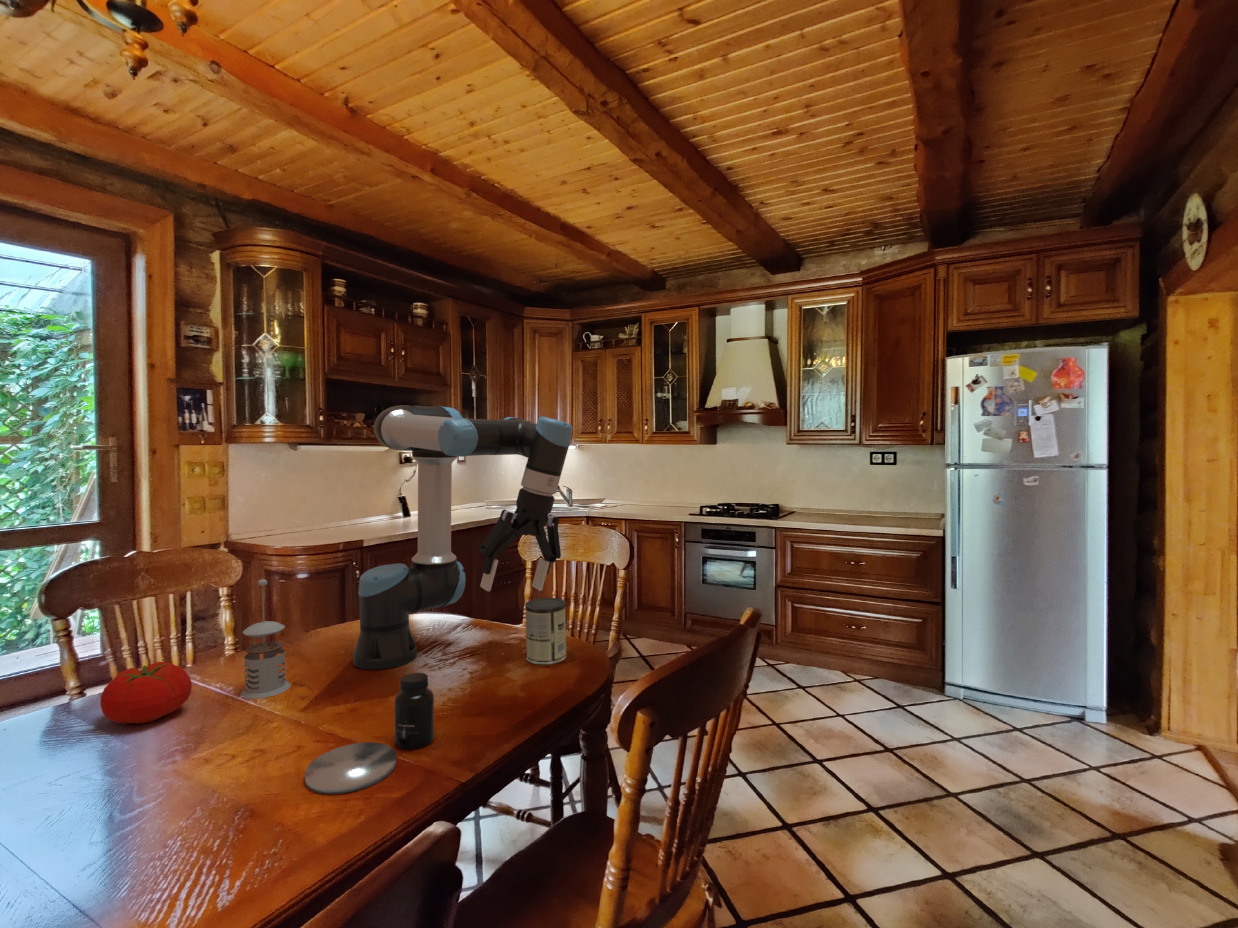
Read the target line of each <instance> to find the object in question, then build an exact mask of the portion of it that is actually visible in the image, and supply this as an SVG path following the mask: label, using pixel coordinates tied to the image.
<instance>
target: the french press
mask: <svg viewBox="0 0 1238 928" xmlns="http://www.w3.org/2000/svg"><path fill="white" fill-rule="evenodd" d="M266 585H268V580H266V579H264V578H263V579H259V580H258V582H257V586H261V602H262V621H261V622H257V623H253V624H252V625H250V626H248V627H246V629H244V630H243V631H242V634H243V635H244V636H246V637H251V638H253V645H250V646H248V647H247V648H246V650H245V653H247V654H246V655H244V676H245V677H244V682H245V684H244V685H245V687H244V688H243V690H242V691H241V692H240V697H242V696H243V697H242V698H244V699H248V700H249V699H250V700H252V699H253V700H254V699H255V700H256V699H257V700H258V699H264V698H269V697H273V696H278V695H280V694H282V693H284V692H286V691H287V690H289V689H290V688H291V683H290V682H289V681H287V680H286V662H285V661H286V657H285V656H286V652H285V649H284V648H283V645H284V644H283V643H282V642H280V641H267V642H266V637H268V636H271V635H275V634H278V633H281V632H282V631H284V630H285V628H286V627H285V624H282V623H280V622H277V621H272V620H271V621H268V620H267V621H266V620H265V605H264V603H265V602H264V599H265V598H264V586H266ZM260 638H261V642H259V643H256V639H260ZM260 655H262V656H263V658H262V659H261V658H260ZM279 665H282V666H279ZM246 667H247V668H246ZM282 670H283V671H282ZM279 671H280V672H279Z"/></svg>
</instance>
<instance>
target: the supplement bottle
mask: <svg viewBox="0 0 1238 928" xmlns="http://www.w3.org/2000/svg"><path fill="white" fill-rule="evenodd" d="M399 689H400V691H399V692H398V693H397V694H396V696H395V698H394V740H395V741H394V742H395V745H396V746H397V747H398V748H399V749H402V750H417V749H420V748H423V747H426V746H427V745H429V744H430V743H431V742H432V741H433V740H434V735H435V734H434V733H435V729H434V726H435V725H434V724H435V722H434V721H435V720H434V719H435V717H434V716H435V714H434V713H435V712H434V710H435V709H434V708H435V707H434V702H435V700H434V699H435V698H434V693H433V690H432V689H430V688H429V676H428V675H427V674H426V673H423V672H413V673H412V672H411V673H408V674H405V675H403V676H402V677H401V678H400V686H399Z"/></svg>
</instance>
